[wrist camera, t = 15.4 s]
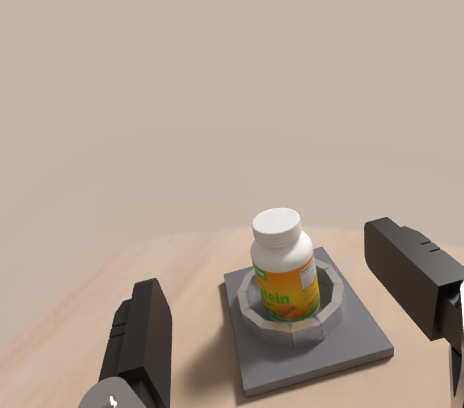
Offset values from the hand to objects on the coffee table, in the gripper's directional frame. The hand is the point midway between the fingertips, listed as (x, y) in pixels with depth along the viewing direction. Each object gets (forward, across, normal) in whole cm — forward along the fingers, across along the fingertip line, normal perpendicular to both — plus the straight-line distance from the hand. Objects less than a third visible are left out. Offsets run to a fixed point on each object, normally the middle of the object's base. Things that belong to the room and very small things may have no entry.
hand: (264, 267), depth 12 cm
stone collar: (+12, -3, +17) cm, 21 cm away
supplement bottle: (+12, -3, +16) cm, 20 cm away
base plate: (+12, -3, +17) cm, 21 cm away
